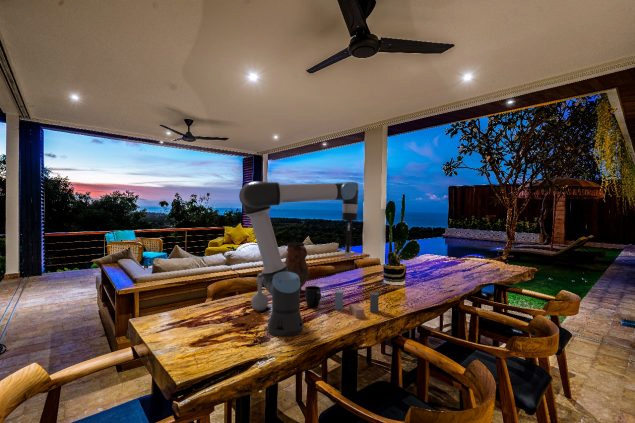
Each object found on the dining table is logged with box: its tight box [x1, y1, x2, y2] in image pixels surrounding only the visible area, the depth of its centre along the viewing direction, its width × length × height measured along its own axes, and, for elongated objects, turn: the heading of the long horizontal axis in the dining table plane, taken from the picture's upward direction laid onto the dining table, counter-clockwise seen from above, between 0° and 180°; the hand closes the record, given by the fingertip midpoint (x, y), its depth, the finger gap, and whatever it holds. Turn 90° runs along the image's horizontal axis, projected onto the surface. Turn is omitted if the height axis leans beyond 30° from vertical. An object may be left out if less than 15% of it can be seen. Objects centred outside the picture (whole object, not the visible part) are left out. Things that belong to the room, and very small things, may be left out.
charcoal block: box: [369, 291, 380, 314], centre depth 151 cm, size 4×4×9 cm
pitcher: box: [284, 242, 310, 295], centre depth 180 cm, size 17×21×30 cm
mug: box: [304, 285, 322, 308], centre depth 156 cm, size 8×12×10 cm
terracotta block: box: [348, 303, 365, 319], centre depth 146 cm, size 4×4×9 cm
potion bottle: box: [250, 272, 269, 312], centre depth 152 cm, size 9×9×18 cm
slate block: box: [334, 289, 344, 311], centre depth 153 cm, size 4×4×9 cm
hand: (347, 258), depth 152 cm, fingers closed
